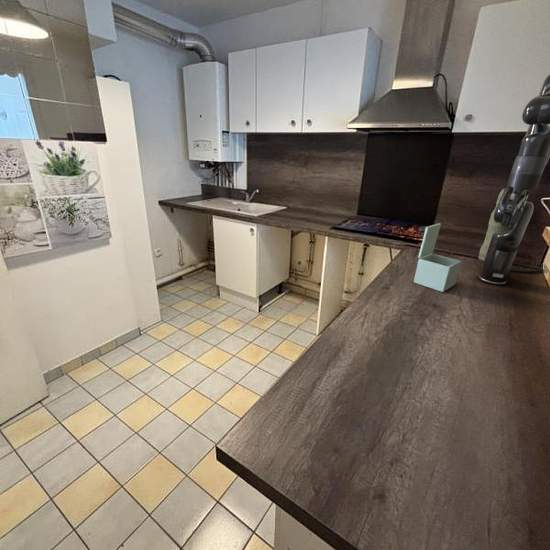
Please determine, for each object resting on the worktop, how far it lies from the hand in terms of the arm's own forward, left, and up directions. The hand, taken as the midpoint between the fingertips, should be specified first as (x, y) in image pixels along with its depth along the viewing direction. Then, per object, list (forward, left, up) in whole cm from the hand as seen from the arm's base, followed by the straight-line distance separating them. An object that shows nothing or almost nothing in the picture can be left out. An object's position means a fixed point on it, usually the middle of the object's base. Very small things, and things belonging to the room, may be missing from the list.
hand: (508, 224), depth 95 cm
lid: (-1, -23, -11) cm, 26 cm away
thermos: (-54, -14, -28) cm, 63 cm away
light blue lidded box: (-2, -18, -28) cm, 33 cm away
